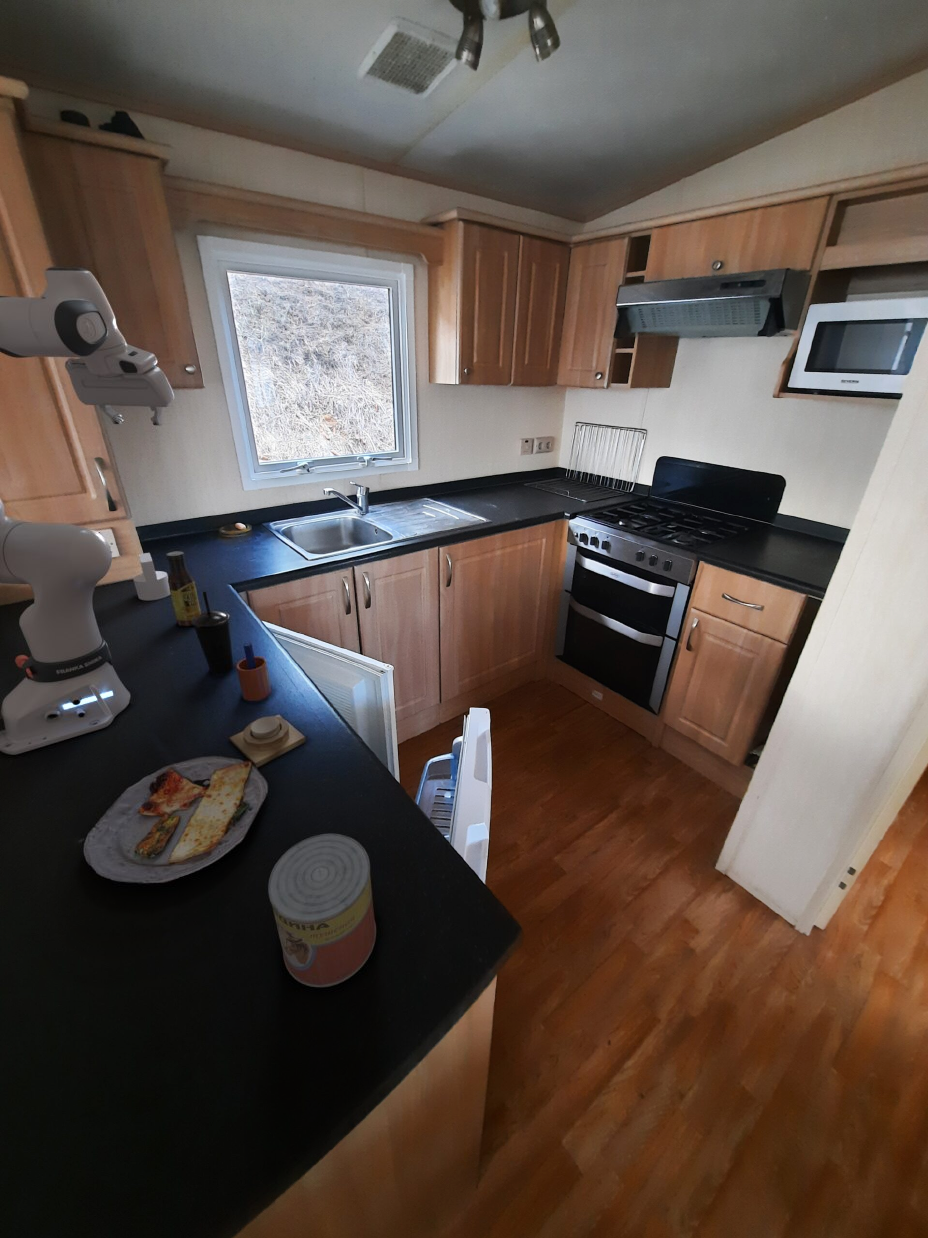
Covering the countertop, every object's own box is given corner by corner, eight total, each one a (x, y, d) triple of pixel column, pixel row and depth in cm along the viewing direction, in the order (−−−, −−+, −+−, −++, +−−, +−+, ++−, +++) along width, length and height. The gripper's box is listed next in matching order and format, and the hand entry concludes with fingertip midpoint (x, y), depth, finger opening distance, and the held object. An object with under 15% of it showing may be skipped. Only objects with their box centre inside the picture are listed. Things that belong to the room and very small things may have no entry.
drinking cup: (198, 671, 118) (178, 592, 109) (231, 658, 123) (214, 582, 114) (212, 683, 113) (193, 602, 104) (245, 670, 118) (229, 592, 109)
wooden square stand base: (256, 768, 90) (253, 755, 88) (230, 742, 96) (227, 729, 94) (306, 741, 96) (304, 729, 95) (279, 719, 102) (277, 706, 101)
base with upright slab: (173, 596, 155) (164, 559, 150) (139, 602, 151) (128, 564, 146) (169, 586, 162) (160, 550, 157) (137, 592, 158) (126, 555, 152)
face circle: (260, 743, 92) (258, 737, 91) (247, 731, 95) (245, 724, 94) (285, 731, 95) (284, 724, 94) (272, 719, 98) (270, 713, 97)
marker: (255, 695, 108) (245, 647, 103) (251, 692, 109) (242, 644, 104) (262, 692, 110) (253, 644, 104) (258, 689, 110) (249, 641, 105)
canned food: (263, 953, 62) (246, 888, 56) (330, 881, 70) (321, 819, 65) (330, 1008, 56) (318, 943, 51) (394, 924, 65) (389, 860, 60)
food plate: (158, 762, 91) (153, 746, 89) (287, 766, 90) (284, 751, 89) (53, 890, 68) (44, 873, 67) (223, 897, 68) (218, 880, 66)
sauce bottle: (192, 628, 137) (175, 558, 128) (172, 626, 138) (153, 556, 129) (208, 618, 143) (192, 550, 134) (188, 615, 144) (172, 548, 135)
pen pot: (251, 706, 106) (244, 674, 103) (238, 695, 110) (231, 663, 106) (276, 694, 110) (271, 663, 106) (263, 684, 113) (257, 653, 110)
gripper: (51, 362, 104) (86, 428, 113) (147, 365, 103) (175, 431, 112) (70, 352, 108) (103, 416, 118) (162, 354, 107) (188, 419, 117)
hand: (138, 423), depth 115 cm, fingers open, 8 cm apart
